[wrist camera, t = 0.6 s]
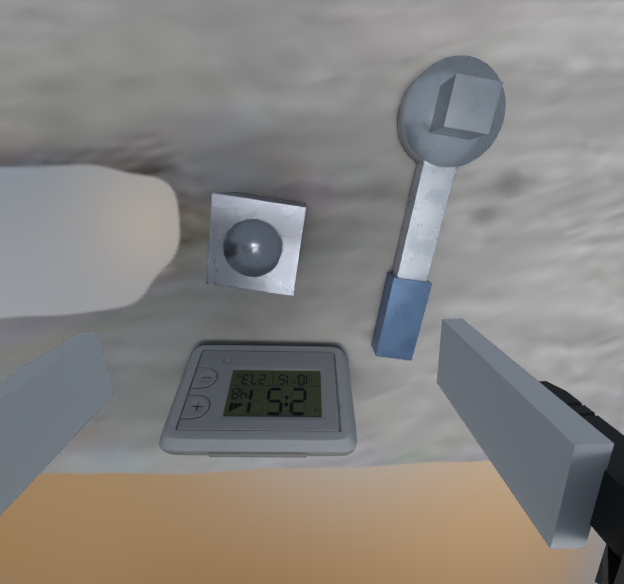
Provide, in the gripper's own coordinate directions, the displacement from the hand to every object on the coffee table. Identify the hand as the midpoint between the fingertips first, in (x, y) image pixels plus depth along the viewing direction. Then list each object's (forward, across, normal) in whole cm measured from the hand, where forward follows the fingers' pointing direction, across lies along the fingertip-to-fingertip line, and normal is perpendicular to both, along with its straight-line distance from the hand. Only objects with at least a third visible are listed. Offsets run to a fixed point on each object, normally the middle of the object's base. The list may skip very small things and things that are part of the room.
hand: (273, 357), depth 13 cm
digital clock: (+21, -3, -12) cm, 24 cm away
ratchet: (+20, +12, +3) cm, 24 cm away
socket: (+20, -2, +2) cm, 21 cm away
